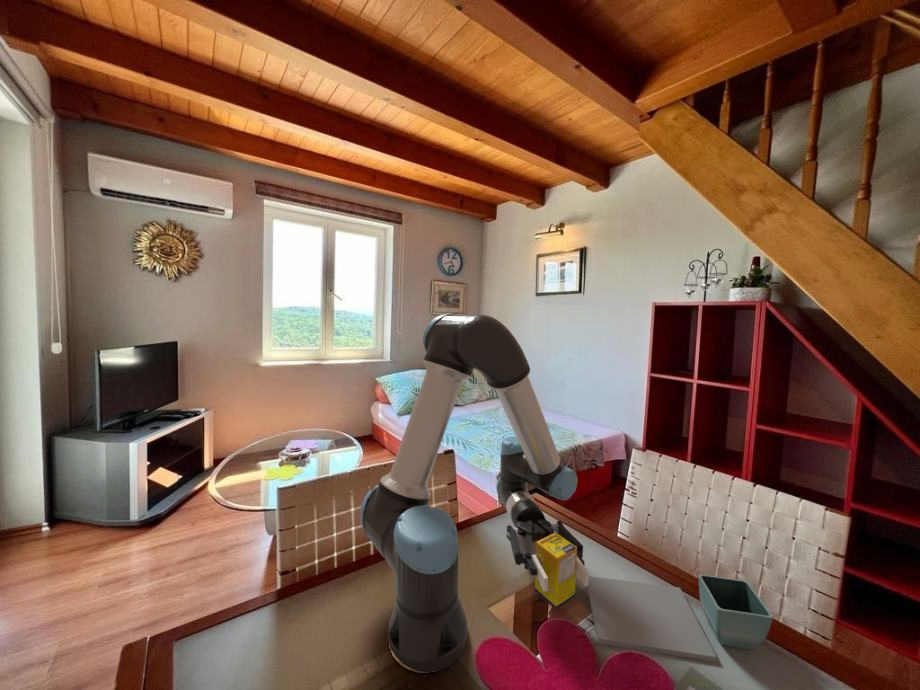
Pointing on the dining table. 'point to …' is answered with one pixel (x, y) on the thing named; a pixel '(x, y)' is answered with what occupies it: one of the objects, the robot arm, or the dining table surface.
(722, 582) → the flower pot
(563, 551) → the supplement box
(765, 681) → the dining table surface
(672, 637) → the board
